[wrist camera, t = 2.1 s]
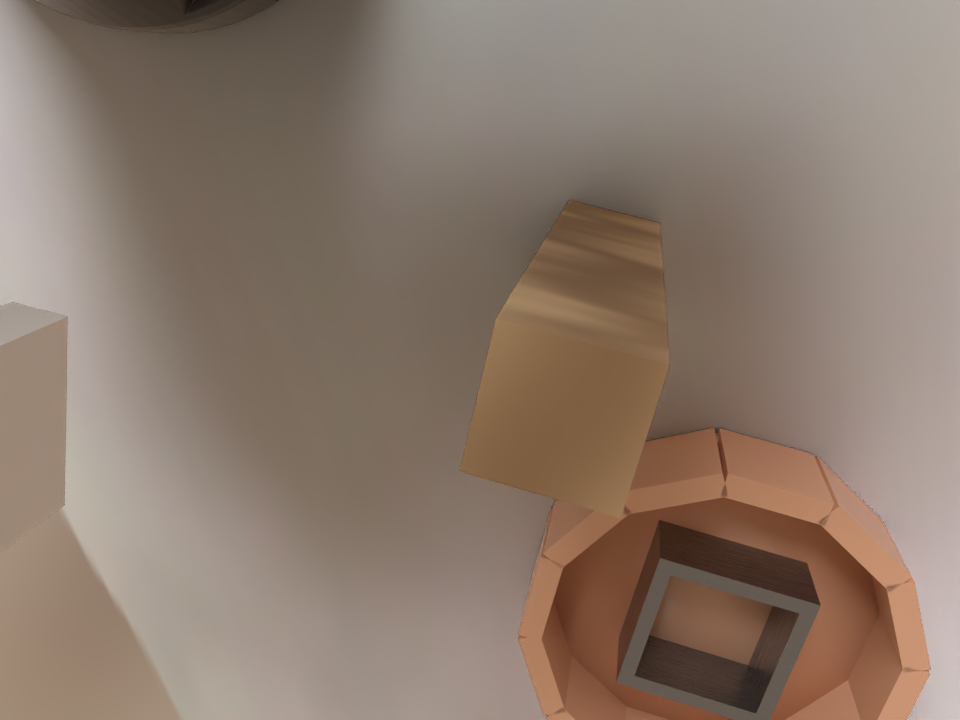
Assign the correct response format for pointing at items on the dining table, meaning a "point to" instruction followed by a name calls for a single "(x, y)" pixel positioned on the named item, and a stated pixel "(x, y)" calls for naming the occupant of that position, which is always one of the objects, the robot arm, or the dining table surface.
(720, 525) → the shallow terracotta dish
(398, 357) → the dining table surface
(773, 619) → the clip
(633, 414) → the tall wooden post
